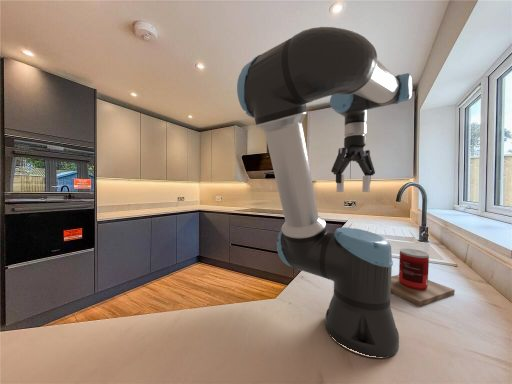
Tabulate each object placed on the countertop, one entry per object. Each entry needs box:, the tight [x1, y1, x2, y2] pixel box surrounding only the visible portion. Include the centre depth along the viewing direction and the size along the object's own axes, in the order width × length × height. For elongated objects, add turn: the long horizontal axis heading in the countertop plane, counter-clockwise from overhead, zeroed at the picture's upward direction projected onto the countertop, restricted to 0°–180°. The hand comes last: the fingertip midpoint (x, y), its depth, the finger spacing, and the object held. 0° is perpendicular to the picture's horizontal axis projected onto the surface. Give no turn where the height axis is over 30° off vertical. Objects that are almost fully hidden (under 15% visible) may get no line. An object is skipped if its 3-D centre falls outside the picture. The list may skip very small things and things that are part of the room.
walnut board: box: [391, 274, 456, 307], centre depth 69 cm, size 18×14×2 cm
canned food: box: [398, 248, 430, 290], centre depth 69 cm, size 8×8×11 cm
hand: (353, 192), depth 80 cm, fingers open, 13 cm apart
